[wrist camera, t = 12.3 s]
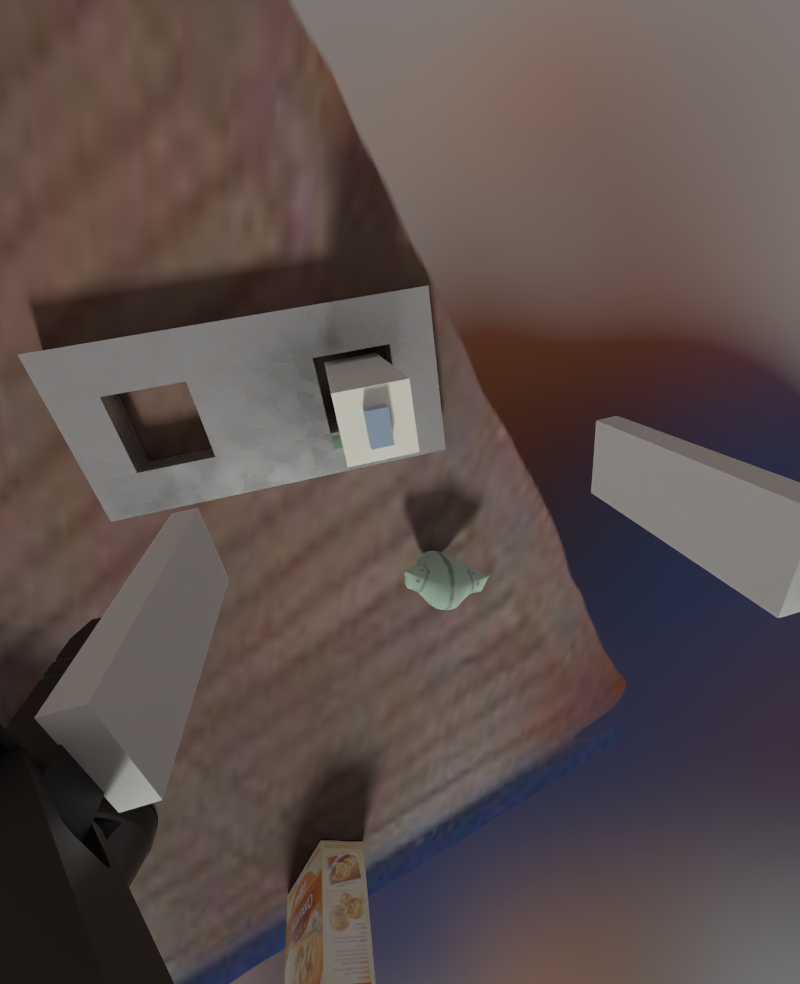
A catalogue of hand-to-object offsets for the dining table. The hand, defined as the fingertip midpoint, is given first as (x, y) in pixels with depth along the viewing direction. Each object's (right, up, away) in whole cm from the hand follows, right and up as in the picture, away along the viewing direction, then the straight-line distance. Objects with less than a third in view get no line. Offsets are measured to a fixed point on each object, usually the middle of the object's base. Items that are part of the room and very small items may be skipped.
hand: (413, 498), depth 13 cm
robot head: (+3, -6, +27) cm, 28 cm away
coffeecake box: (-12, -57, +48) cm, 75 cm away
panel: (-11, +7, +17) cm, 22 cm away
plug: (-4, +9, +18) cm, 21 cm away
